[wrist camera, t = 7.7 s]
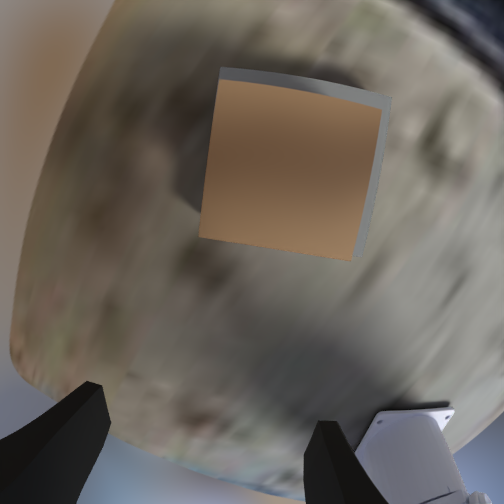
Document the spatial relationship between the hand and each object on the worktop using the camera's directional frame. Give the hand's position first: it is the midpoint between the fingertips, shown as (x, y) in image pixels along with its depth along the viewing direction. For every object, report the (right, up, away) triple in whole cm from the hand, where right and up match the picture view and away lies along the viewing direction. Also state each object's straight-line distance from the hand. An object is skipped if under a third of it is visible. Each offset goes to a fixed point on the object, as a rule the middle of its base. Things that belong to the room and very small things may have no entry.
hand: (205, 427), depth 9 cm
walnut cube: (+3, +10, +5) cm, 11 cm away
